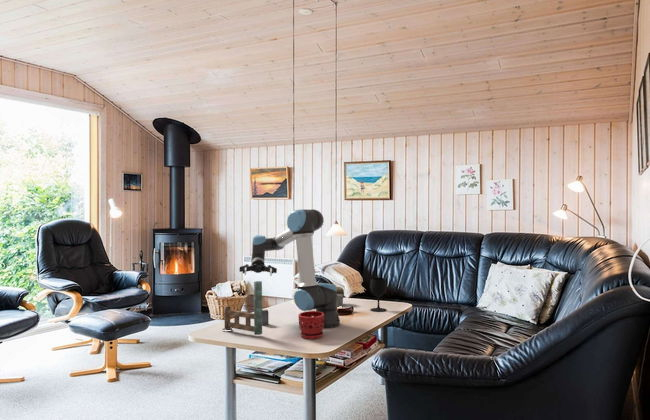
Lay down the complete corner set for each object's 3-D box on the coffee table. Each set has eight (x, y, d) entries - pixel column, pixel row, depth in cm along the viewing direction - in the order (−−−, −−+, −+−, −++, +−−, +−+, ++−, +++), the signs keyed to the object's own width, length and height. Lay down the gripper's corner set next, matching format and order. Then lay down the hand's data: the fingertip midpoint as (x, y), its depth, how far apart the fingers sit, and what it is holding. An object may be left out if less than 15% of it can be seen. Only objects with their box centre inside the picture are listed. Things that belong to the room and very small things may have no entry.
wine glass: (389, 309, 327) (389, 278, 327) (382, 312, 319) (382, 280, 318) (374, 307, 333) (374, 277, 333) (367, 310, 324) (367, 279, 324)
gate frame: (269, 324, 289) (269, 310, 289) (225, 332, 273) (225, 317, 273) (265, 323, 293) (264, 309, 293) (221, 330, 277) (220, 315, 277)
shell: (344, 306, 339) (344, 288, 339) (327, 306, 339) (327, 288, 339) (344, 303, 350) (343, 285, 349) (327, 303, 350) (327, 285, 350)
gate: (222, 328, 275) (222, 278, 275) (228, 326, 279) (227, 277, 278) (258, 335, 261) (258, 282, 260) (263, 333, 264) (263, 281, 264)
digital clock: (343, 309, 329) (343, 292, 329) (343, 312, 320) (343, 295, 320) (317, 309, 329) (317, 293, 329) (317, 312, 320) (317, 295, 320)
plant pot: (299, 333, 269) (299, 310, 269) (324, 333, 269) (324, 310, 268) (297, 340, 256) (297, 316, 256) (324, 340, 256) (323, 316, 255)
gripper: (279, 272, 298) (281, 280, 277) (235, 270, 294) (234, 278, 273) (280, 259, 297) (282, 266, 276) (236, 257, 294) (234, 265, 273)
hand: (258, 272), depth 275 cm, fingers open, 13 cm apart
